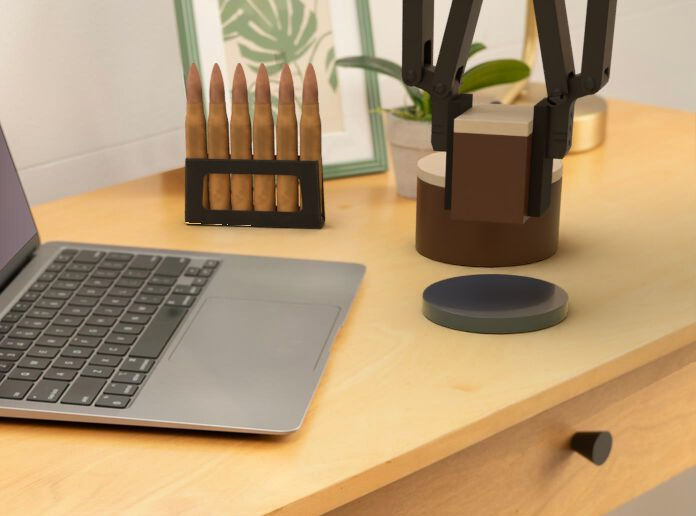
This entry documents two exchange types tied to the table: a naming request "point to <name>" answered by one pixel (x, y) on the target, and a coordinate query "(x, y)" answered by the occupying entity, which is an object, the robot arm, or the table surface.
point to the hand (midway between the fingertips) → (496, 207)
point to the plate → (495, 303)
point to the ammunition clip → (241, 165)
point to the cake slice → (492, 163)
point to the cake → (480, 225)
